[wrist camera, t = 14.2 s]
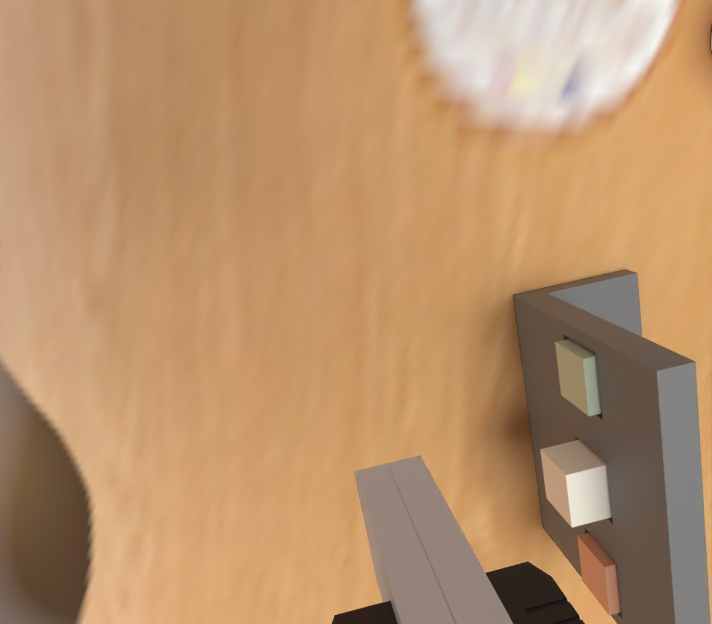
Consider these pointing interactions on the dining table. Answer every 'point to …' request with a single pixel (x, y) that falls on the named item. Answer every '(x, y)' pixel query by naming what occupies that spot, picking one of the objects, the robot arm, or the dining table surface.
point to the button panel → (624, 443)
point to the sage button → (579, 376)
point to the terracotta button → (599, 573)
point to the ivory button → (576, 483)
